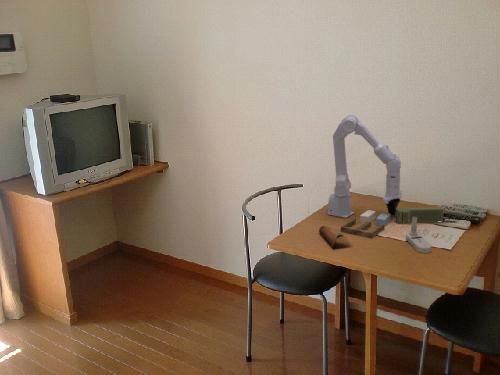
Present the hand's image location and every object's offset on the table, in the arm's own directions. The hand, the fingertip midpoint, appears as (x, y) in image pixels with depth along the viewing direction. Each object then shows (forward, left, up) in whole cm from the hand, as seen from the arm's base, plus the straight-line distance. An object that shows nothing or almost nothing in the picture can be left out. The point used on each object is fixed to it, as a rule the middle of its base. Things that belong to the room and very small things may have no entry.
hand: (391, 214), depth 236 cm
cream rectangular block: (-7, -9, -1) cm, 11 cm away
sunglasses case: (-8, -35, -2) cm, 36 cm away
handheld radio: (+14, +2, -2) cm, 15 cm away
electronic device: (+21, -24, -2) cm, 32 cm away
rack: (-3, -20, -1) cm, 21 cm away
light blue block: (0, -9, -1) cm, 9 cm away
